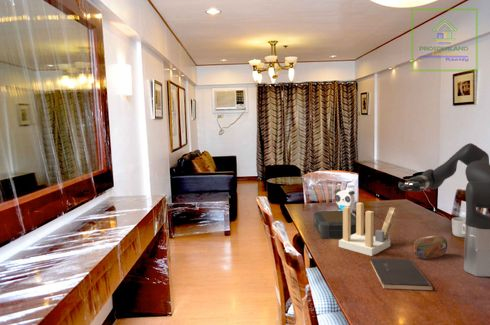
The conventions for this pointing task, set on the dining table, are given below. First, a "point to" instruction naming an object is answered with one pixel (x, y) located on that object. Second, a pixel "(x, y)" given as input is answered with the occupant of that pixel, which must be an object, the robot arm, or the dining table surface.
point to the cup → (458, 226)
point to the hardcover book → (400, 274)
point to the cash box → (332, 224)
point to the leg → (388, 221)
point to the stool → (362, 233)
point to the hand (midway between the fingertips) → (402, 188)
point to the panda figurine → (344, 199)
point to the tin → (430, 247)
